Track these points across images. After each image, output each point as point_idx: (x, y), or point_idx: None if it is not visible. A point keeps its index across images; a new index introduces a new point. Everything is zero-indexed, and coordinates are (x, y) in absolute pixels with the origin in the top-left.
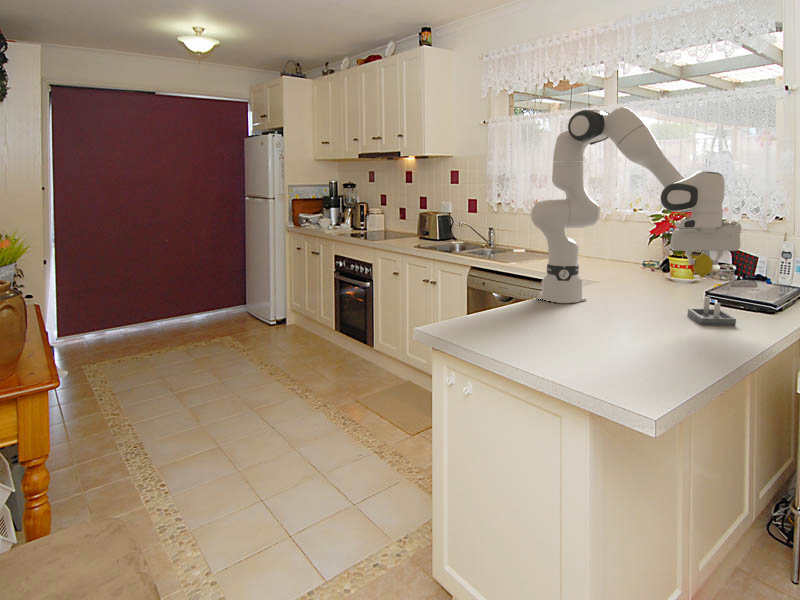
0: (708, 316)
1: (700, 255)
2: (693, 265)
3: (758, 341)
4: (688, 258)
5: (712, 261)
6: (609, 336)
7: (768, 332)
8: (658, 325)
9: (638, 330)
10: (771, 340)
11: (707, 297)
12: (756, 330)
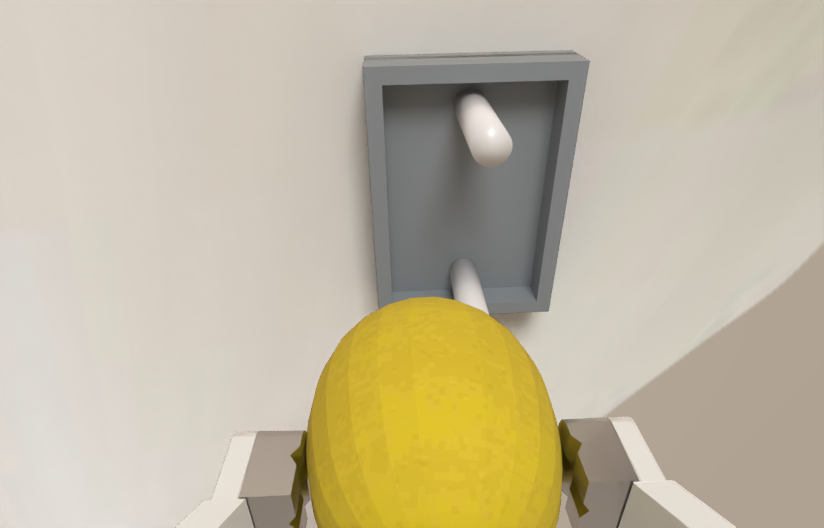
0: (468, 157)
1: None
2: (308, 427)
3: None
4: (201, 522)
5: (574, 469)
6: (5, 478)
7: (630, 347)
8: (177, 315)
9: (96, 399)
10: None
11: (487, 158)
12: (600, 327)
